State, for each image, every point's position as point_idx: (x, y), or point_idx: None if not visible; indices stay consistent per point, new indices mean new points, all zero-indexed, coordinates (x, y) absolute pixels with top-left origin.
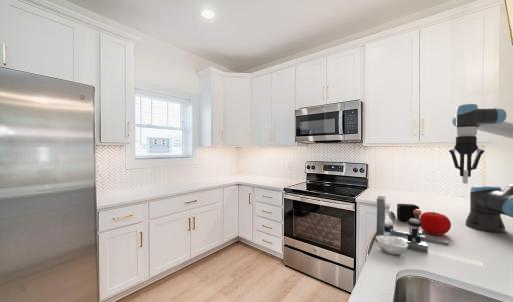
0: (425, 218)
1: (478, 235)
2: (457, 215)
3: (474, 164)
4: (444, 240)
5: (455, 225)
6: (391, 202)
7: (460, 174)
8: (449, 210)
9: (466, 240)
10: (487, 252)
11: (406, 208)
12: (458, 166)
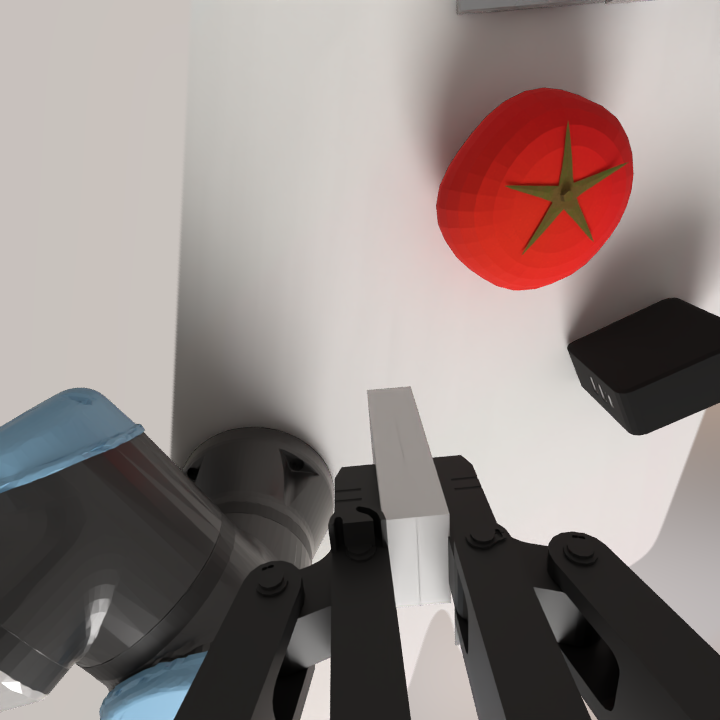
0: (612, 116)
1: (293, 325)
2: None
3: (264, 669)
4: (479, 2)
5: None
6: None
7: (474, 476)
8: None
9: (356, 172)
10: (277, 4)
11: (695, 346)
12: (572, 574)
